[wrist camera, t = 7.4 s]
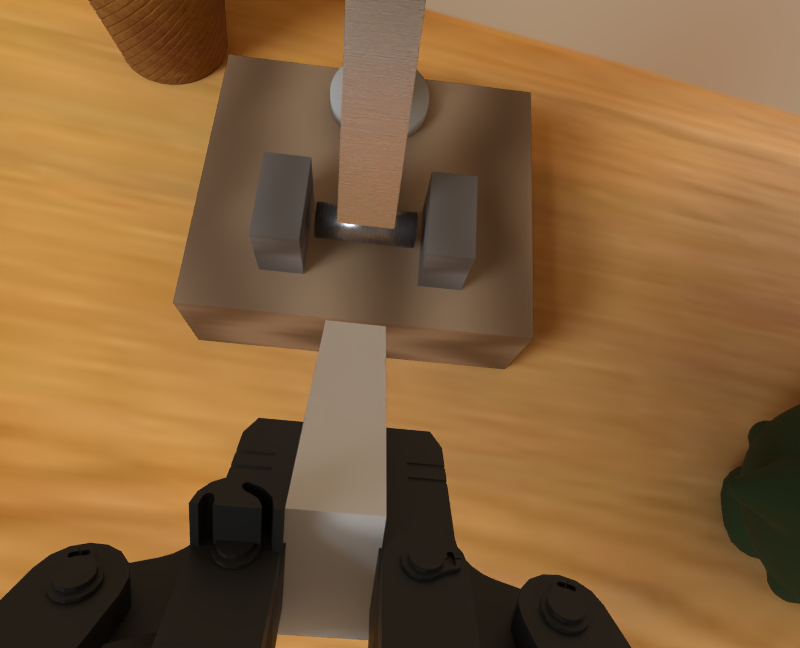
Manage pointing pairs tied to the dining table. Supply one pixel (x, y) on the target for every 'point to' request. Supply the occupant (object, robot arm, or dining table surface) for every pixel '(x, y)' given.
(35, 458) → the dining table surface
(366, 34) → the lever
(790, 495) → the toy figurine
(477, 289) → the base
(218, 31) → the disposable coffee cup
